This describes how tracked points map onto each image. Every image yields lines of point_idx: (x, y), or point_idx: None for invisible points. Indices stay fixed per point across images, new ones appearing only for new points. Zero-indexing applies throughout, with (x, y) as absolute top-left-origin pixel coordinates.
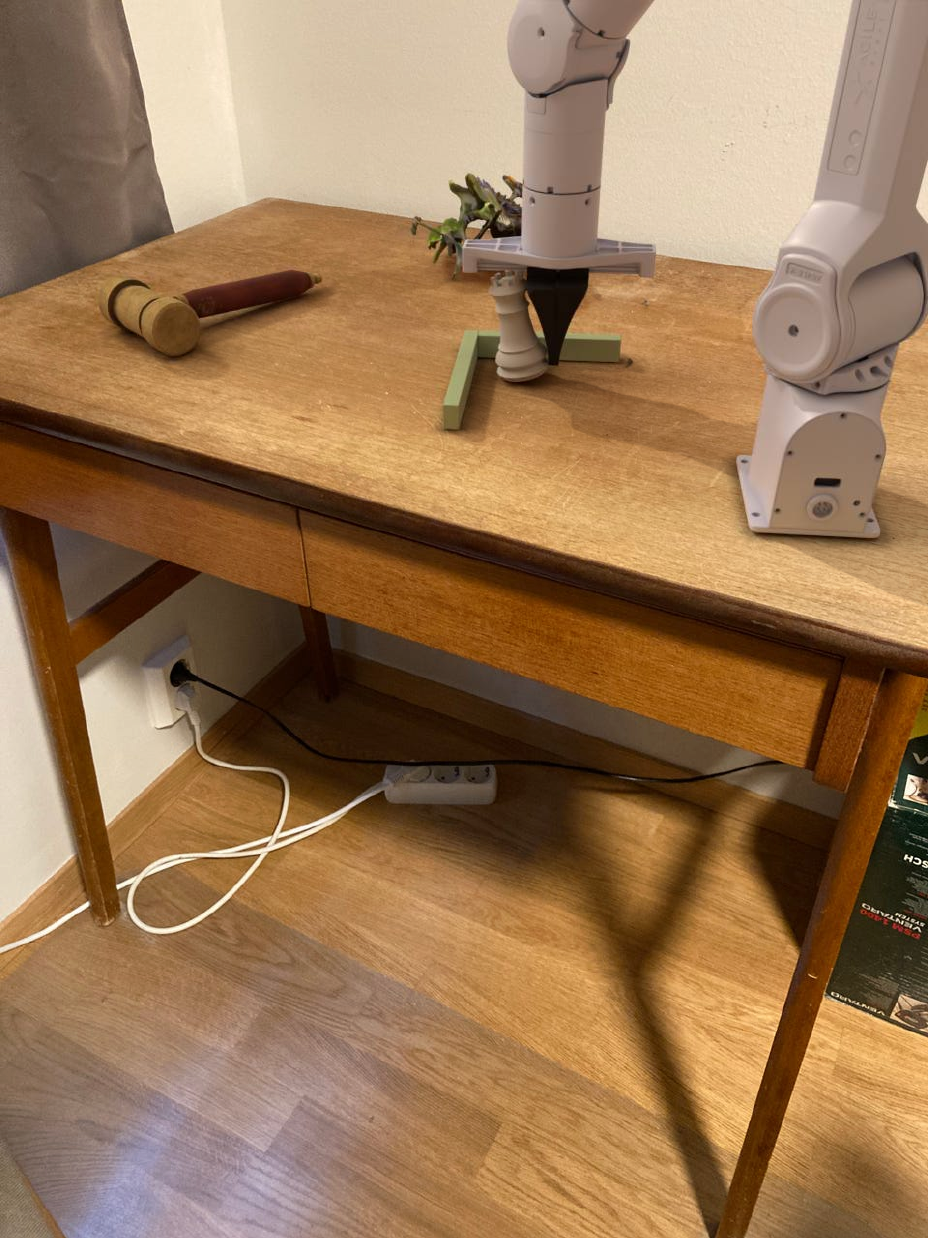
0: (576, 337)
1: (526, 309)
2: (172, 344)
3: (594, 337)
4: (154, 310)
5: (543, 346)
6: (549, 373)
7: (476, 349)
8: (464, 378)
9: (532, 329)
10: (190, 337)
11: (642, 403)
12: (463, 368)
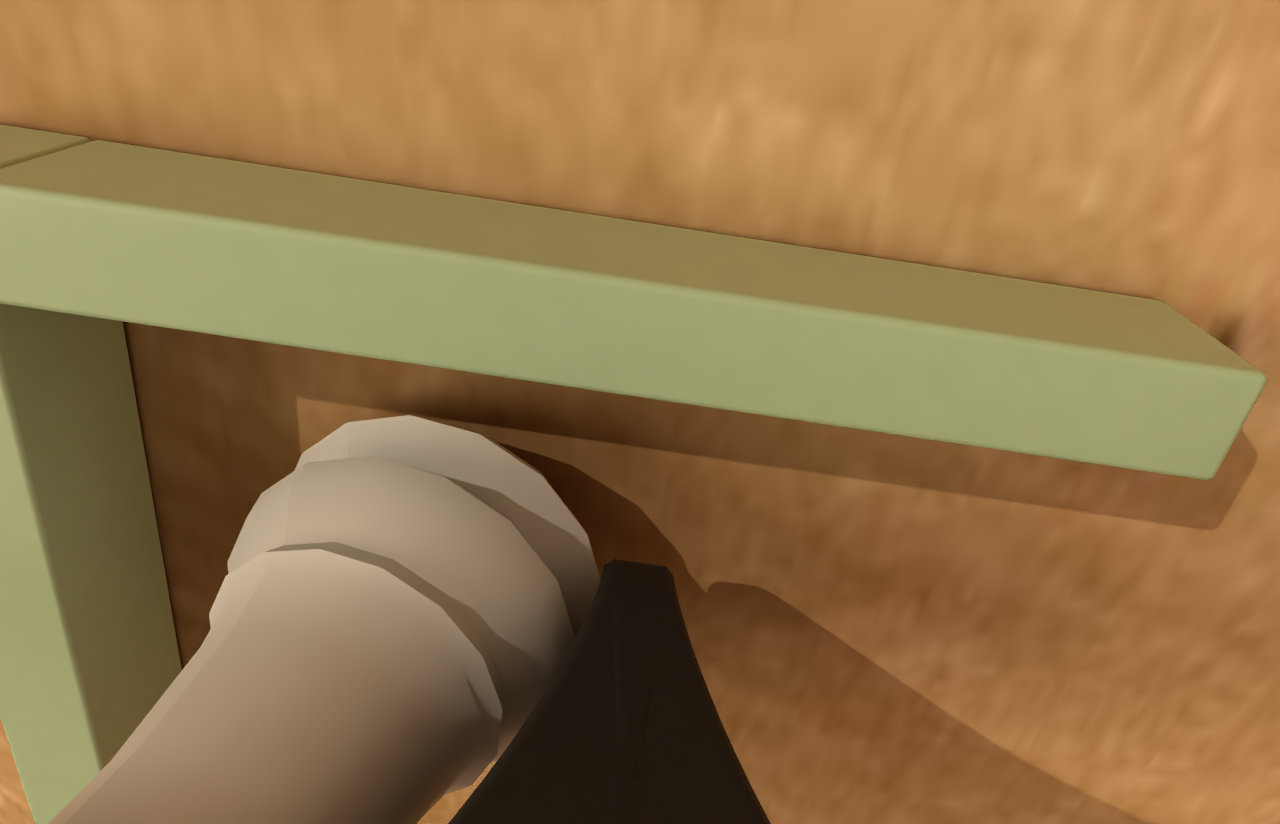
0: (847, 412)
1: None
2: None
3: (1006, 418)
4: None
5: (539, 695)
6: (617, 500)
7: (63, 361)
8: None
9: (417, 819)
10: None
11: (1036, 815)
12: (73, 778)
